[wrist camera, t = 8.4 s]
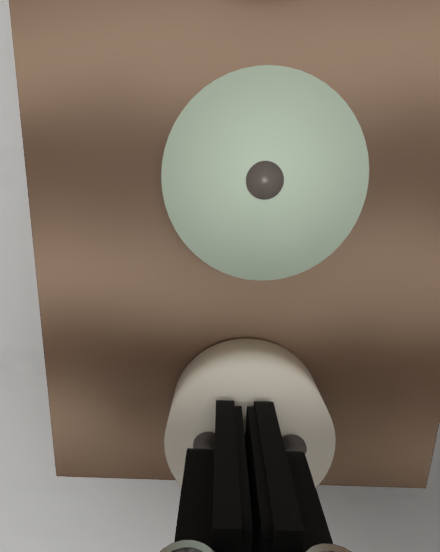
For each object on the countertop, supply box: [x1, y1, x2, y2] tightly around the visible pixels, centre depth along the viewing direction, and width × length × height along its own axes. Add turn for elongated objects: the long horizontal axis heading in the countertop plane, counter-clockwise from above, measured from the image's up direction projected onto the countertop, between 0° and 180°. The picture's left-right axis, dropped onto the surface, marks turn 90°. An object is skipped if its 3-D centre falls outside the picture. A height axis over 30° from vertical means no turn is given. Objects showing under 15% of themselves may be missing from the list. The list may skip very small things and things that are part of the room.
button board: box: [9, 0, 440, 488], centre depth 12 cm, size 22×14×3 cm, turn 178°
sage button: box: [161, 65, 369, 281], centre depth 9 cm, size 5×5×2 cm
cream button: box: [164, 339, 336, 488], centre depth 11 cm, size 5×5×2 cm
